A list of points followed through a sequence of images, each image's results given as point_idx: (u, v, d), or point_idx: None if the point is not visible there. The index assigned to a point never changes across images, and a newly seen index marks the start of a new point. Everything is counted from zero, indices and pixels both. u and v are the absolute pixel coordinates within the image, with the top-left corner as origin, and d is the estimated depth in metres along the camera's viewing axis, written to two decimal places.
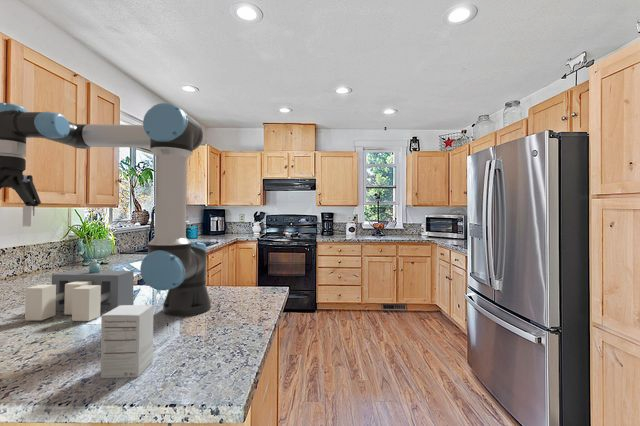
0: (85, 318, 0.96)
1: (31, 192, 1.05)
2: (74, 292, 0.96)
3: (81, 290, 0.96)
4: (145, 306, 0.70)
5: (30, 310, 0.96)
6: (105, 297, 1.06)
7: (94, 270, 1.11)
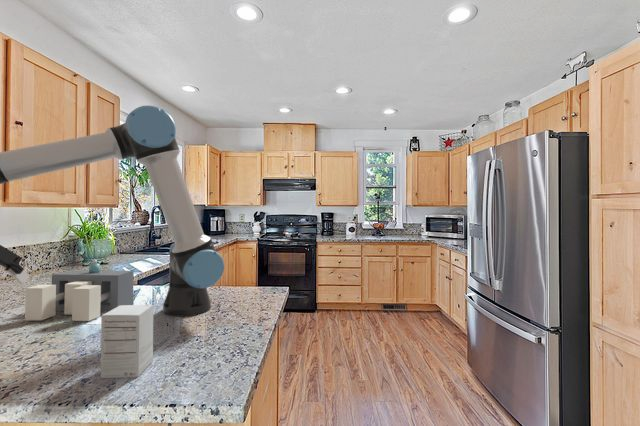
0: (85, 318, 0.96)
1: None
2: (74, 292, 0.96)
3: (81, 290, 0.96)
4: (145, 306, 0.70)
5: (30, 310, 0.96)
6: (105, 297, 1.06)
7: (94, 270, 1.11)
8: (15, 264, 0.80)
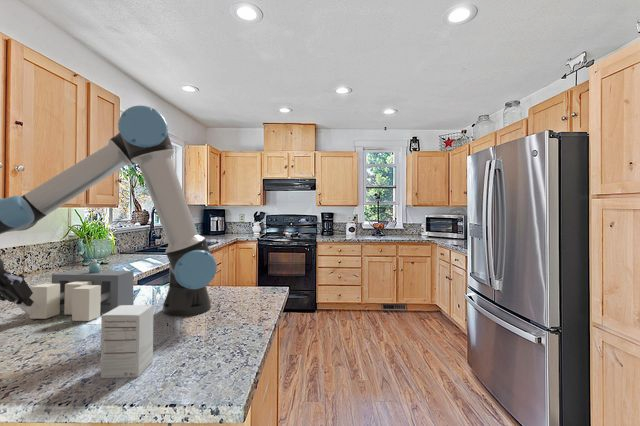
0: (85, 318, 0.96)
1: None
2: (74, 292, 0.96)
3: (81, 290, 0.96)
4: (145, 306, 0.70)
5: None
6: (105, 297, 1.06)
7: (94, 270, 1.11)
8: (27, 299, 0.91)
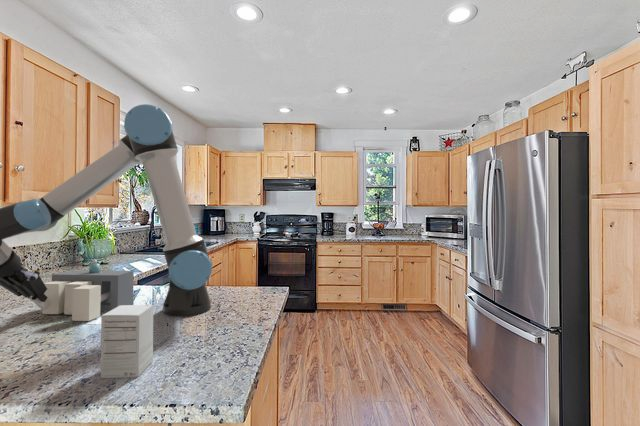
0: (85, 318, 0.96)
1: None
2: (74, 292, 0.96)
3: (81, 290, 0.96)
4: (145, 306, 0.70)
5: None
6: (105, 297, 1.06)
7: (94, 270, 1.11)
8: (42, 295, 0.95)
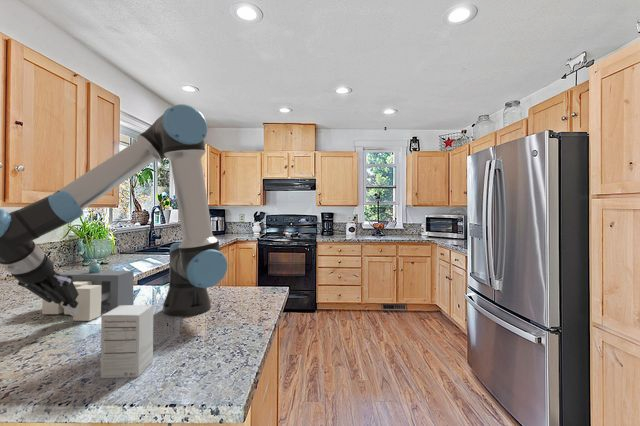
0: (86, 318, 0.97)
1: None
2: None
3: (82, 290, 0.97)
4: (145, 306, 0.70)
5: (47, 304, 1.02)
6: (106, 297, 1.06)
7: (94, 270, 1.11)
8: (74, 301, 0.90)
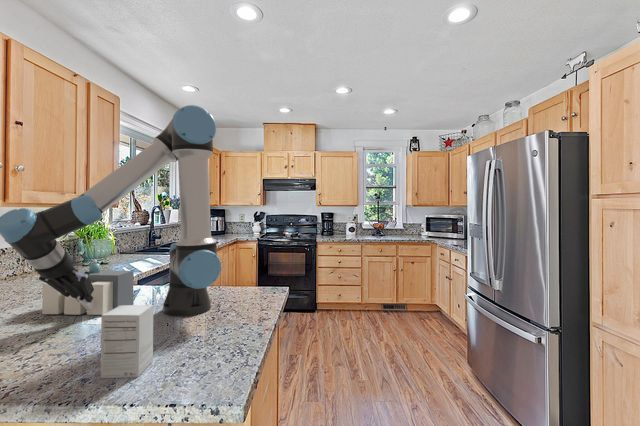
0: (99, 312, 1.03)
1: None
2: None
3: (95, 286, 1.03)
4: (145, 306, 0.70)
5: (47, 304, 1.02)
6: None
7: (94, 270, 1.11)
8: (89, 295, 0.95)
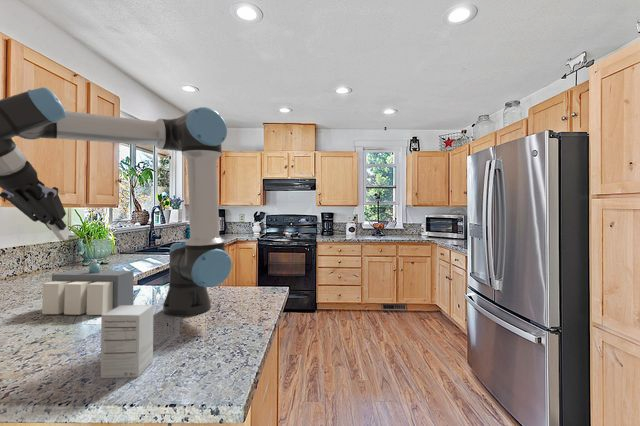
0: (99, 312, 1.02)
1: None
2: (88, 287, 1.02)
3: (95, 286, 1.03)
4: (145, 306, 0.70)
5: (47, 304, 1.02)
6: None
7: (94, 270, 1.11)
8: (61, 219, 0.84)
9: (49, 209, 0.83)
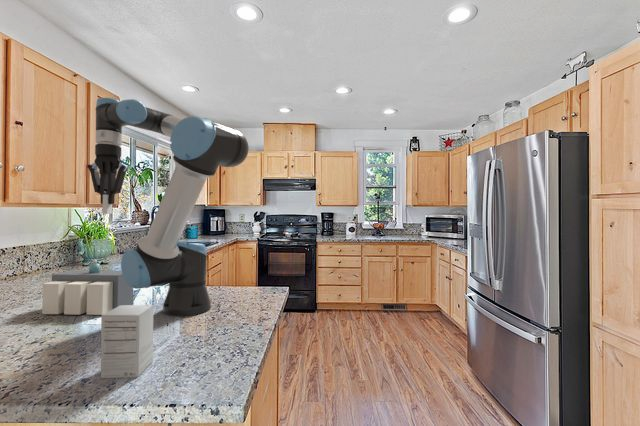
0: (99, 312, 1.02)
1: (99, 180, 1.12)
2: (88, 287, 1.02)
3: (95, 286, 1.03)
4: (145, 306, 0.70)
5: (47, 304, 1.02)
6: None
7: (94, 270, 1.11)
8: (116, 191, 1.10)
9: (112, 183, 1.11)
